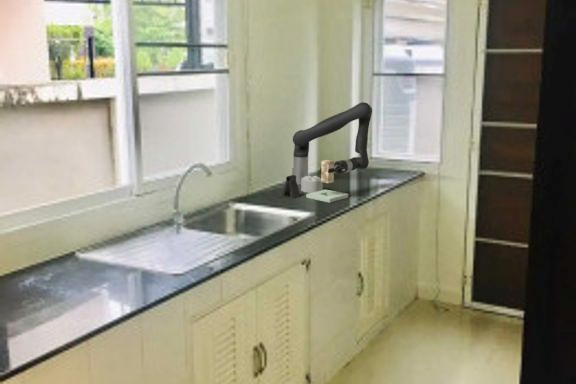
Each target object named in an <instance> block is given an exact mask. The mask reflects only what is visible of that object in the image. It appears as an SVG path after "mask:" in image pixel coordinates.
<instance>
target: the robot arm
mask: <svg viewBox="0 0 576 384" xmlns="http://www.w3.org/2000/svg"><path fill="white" fill-rule="evenodd" d="M372 114H373V108H372V106H371V105H370V104H369V103H367V102H359V103H358V104H356V105H353V106H351V107H350V108H349V109H347V110H344V111H342V112H339V113H336V114H333V115H331V116H329V117H327V118H325V119H323V120H321V121H319V122H318V123H316V124H314V125H313V126H311V127H309V128H306V129H300V130H298V131H296V132H295V133H294V134H293V136H292V143H293V144H294V146H293V147H294V149H293V163H292V164H293V167H292V168H291V175H295V176H296V182H297V185H298V186H299V185H300V186H301V179H302V178H303V177H305V176H309V152H310V142H313V141H314V140H316V139H318V138H321V137H325V136H328V135H330V134H332V133H335V132H337V131H339V130H341V129H343V128H344V127H346V126H347V125H348V124H350V123H351V122H353V121H356V120H358V129H357V133H356V137H355V147H354V150H355V151H354V152H355V153H357V154H359V155H360V157H359V156H355V157H352V158H349V159H341V160H336V161H334V168H331V169H328V173H332V172H334V174H335V173H336V174H337V175H338V174H339V175H342V174H345V173H348V172H353V171H355V170H357V169H358V170H365V169H367V168H368V167H369V163H370V162H369V161H370V160H369V156H368V138H369V129H370V123H371V119H372ZM321 170H322V168H321V167H320V169H319V171H320V172H321Z"/></svg>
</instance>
